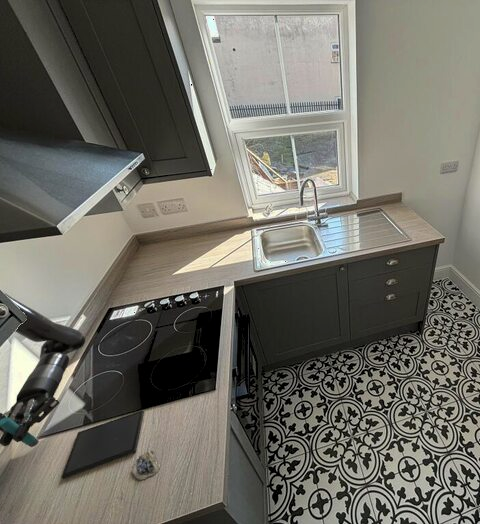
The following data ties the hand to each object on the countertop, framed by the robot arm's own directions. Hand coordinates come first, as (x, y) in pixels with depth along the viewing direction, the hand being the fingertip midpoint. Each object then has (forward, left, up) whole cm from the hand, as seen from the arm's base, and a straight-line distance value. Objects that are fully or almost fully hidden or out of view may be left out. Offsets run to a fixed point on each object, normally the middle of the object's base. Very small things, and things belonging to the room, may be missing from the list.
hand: (10, 442), depth 73 cm
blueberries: (+25, -9, -17) cm, 32 cm away
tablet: (+12, +3, -17) cm, 21 cm away
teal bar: (0, +3, -7) cm, 8 cm away
